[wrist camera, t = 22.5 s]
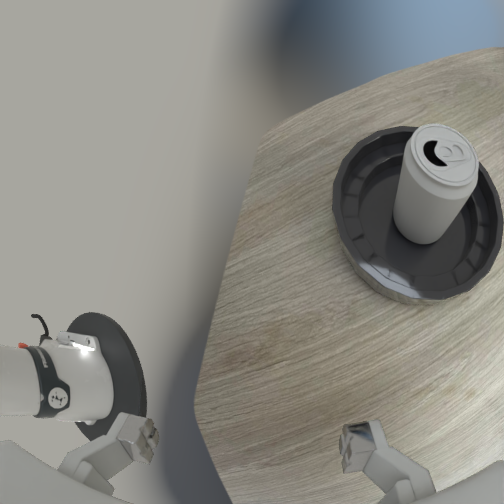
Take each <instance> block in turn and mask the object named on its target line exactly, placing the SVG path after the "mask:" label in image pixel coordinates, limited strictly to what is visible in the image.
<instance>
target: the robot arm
mask: <svg viewBox="0 0 504 504" xmlns="http://www.w3.org/2000/svg"><path fill="white" fill-rule="evenodd" d="M31 316H32V317H33V318H38V319H39V320H40V321H41V323H42V325H43V327H44V330H45V334H43V335H41V338H40V345H39V346H29V347H28V345H26V344H24V343H19V348H16V347H9V346H4V345H0V416H19V415H20V416H21V415H22V416H25V415H33V416H34V417H36V418H52V417H55V418H56V419H57V420H58V421H65V422H68V421H69V422H77V421H78V422H79V421H84V422H85V423H86V424H87V425H93V424H94V423H95V422H96V421H97V420H99V419H103V418H105V417H107V416H108V415H109V413H110V411H111V409H112V406H113V399H114V389H113V382H112V377H111V373H110V370H109V368H108V365H107V363H106V361H105V359H104V357H103V355H102V353H101V349H100V344H99V341H98V338H97V337H96V336H90V335H84V334H78V333H72V332H66V331H60V332H59V334H58V336H57V339H56V340H53V339H52V338H51V337H48V335H49V332H48V328H47V326H46V324H45V322H44V320H43V319H42V317H41V316H40V315H38V314H32V315H31ZM153 425H154V423H153V421H152V419H149V418H144V417H140V416H135V415H132V414H128V413H123V412H121V413H119V414H118V416H117V418H116V419H115V421H114V423H113V424H112V426H111V428H110V430H109V431H108V433H107V435H102V436H100V437H98V438H97V439H95V440H93V441H91V442H89V443H87V444H85V445H83V446H81V447H79V448H77V449H75V450H73V451H70V452H68V454H67V455H66V457H65V458H64V460H63V461H62V463H61V465H60V466H59V468H58V470H56V469H54V468H52V467H51V466H49V465H47V464H46V463H44V462H42V461H41V460H39V459H38V458H36V457H35V456H33V455H32V454H30V453H28V452H27V451H26V450H24V449H23V448H21V447H20V446H19V445H17V444H16V443H14V442H12V441H11V440H5V441H1V442H0V504H132V503H129V502H126V501H123V500H121V499H118V498H115V497H113V496H112V494H113V492H114V487H113V486H112V485H111V484H110V483H109V482H108V481H107V480H109V479H110V478H112V477H113V476H114V475H116V474H117V473H118V472H120V471H121V470H122V469H124V468H125V467H127V466H128V465H129V464H131V463H132V462H133V461H137V462H141V463H145V464H150V462H151V460H152V457H153V455H154V454H153V451H152V450H153V449H154V448H156V447H157V445H158V442H159V441H158V440H159V434H158V431H157V429H156V428H154V427H153ZM342 431H343V434H341V435H340V439H339V450H340V454H341V455H342V456H343V459H342V468H343V474H344V473H351V472H358V471H362V472H363V473H364V474H365V475H367V476H368V477H369V478H370V479H371V480H372V481H373V482H374V483H375V484H376V485H377V486H378V487H379V488H380V489H381V490H382V491H383V492H385V493H386V495H385V496H384V497H383V498H382V499H381V500H380V501H379V502H378V504H504V461H503V460H498V461H496V462H494V463H492V464H491V465H489V466H487V467H486V468H484V469H482V470H481V471H479V472H477V473H475V474H474V475H472V476H470V477H468V478H466V479H464V480H462V481H460V482H458V483H456V484H454V485H452V486H450V487H448V488H446V489H443V490H441V491H439V492H437V493H436V490H435V487H434V484H433V481H432V478H431V476H430V473H429V470H427V469H425V468H424V467H422V466H421V465H419V464H418V463H416V462H415V461H413V460H412V459H410V458H409V457H407V456H406V455H404V454H403V453H401V452H400V451H398V450H397V449H395V448H394V447H393V446H392V447H389V445H388V442H387V439H386V436H385V433H384V430H383V427H382V425H381V422H380V420H379V419H375V420H371V421H363V422H358V423H352V424H345V425H344V426H343V429H342Z"/></svg>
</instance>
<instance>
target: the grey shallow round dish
mask: <svg viewBox="0 0 504 504" xmlns="http://www.w3.org/2000/svg"><path fill="white" fill-rule="evenodd" d="M418 128H419V127H408V126H399V127H394V128H389V129H385V130H380V131H377V132H375V133H373V134H372V135H370V136H368V137H366V138H365V139H363V140H361V141H359V142H358V143H357V144H356V145H355V146H354V147H353V149H352V150H351V151H350V152H349V153H348V154H347V155H346V156H345V158H344V159H343V160H342V163H341V165H340V168H339V170H338V173H337V175H336V178H335V180H334V183H333V203H332V211H333V215H334V219H335V224H336V228H337V231H338V235H339V239H340V243H341V247H342V250H343V253H344V254H345V256H346V257H347V259H348V260H349V262H350V264H351V265H352V267H353V268H354V270H355V272H356V273H357V275H358V276H359V277H361V278H362V279H363V280H364V281H365V282H366V283H368V284H369V285H370V286H371V287H372V288H373V289H374V290H376V291H377V292H378V293H379V294H382V295H384V296H386V297H389V298H391V299H394V300H396V301H398V302H401V303H403V304H413V305H433V304H436V303H439V302H442V301H445V300H448V299H451V298H454V297H456V296H458V295H461V294H463V293H465V292H467V291H469V290H471V289H472V288H473V287H474V286H475V285H476V284H477V283H478V282H479V281H480V280H482V279H483V278H484V277H485V276H486V275H487V274H488V273H489V271H490V269H491V267H492V265H493V263H494V261H495V259H496V257H497V255H498V253H499V251H500V248H501V242H502V234H503V224H504V221H503V214H502V209H501V204H500V199H499V195H498V192H497V190H496V188H495V186H494V184H493V182H492V180H491V178H490V176H489V174H488V172H487V171H486V169H485V168H484V167H483V166H482V164H481V163H480V162H479V169H478V180H477V184H476V187H475V189H474V190H473V192H472V193H471V195H470V196H469V198H468V200H467V201H466V203H465V204H464V206H463V207H462V209H461V210H460V211H459V213H458V214H457V216H456V217H455V219H454V220H453V221H452V223H451V224H450V226H449V227H448V228H447V230H446V231H445V232H444V234H443V235H442V236H441V237H440V238H439V239H438V240H437V241H435V242H433V243H430V244H418V243H415V242H412V241H410V240H408V239H407V238H406V237H404V236H403V235H402V234H401V232H400V231H399V230H398V228H397V226H396V224H395V221H394V217H393V208H394V204H395V199H396V194H397V190H398V185H399V180H400V174H401V169H402V163H403V157H404V151H405V147H406V144H407V142H408V140H409V139H410V138H411V137H412V135H413V133H414V132H415V131H416V130H417V129H418Z"/></svg>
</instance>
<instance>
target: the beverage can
mask: <svg viewBox="0 0 504 504" xmlns="http://www.w3.org/2000/svg"><path fill="white" fill-rule="evenodd" d="M478 169H479V161H478V156H477V154H476V151H475V149H474V147H473V146H472V144H471V143H470V142H469V140H468V139H467V138H466V137H465V136H463V135H462V134H461V133H460V132H458V131H457V130H455V129H453V128H451V127H449V126H446V125H442V124H435V123H432V124H426V125H423V126H421V127H419V128H418V129H417V130H416V131H415V132H414V133H413V135H412V137H411V138H410V139H409V140H408V142H407V144H406V147H405V151H404V157H403V163H402V169H401V174H400V180H399V185H398V190H397V194H396V199H395V204H394V208H393V217H394V221H395V224H396V226H397V228H398V230H399V231H400V232H401V234H402V235H403V236H404V237H406V238H407V239H408V240H410V241H412V242H415V243H418V244H430V243H433V242H435V241H437V240H438V239H439V238H440V237H441V236H442V235H443V234H444V232H445V231H446V230H447V228H448V227H449V226H450V224H451V223H452V221H453V220H454V219H455V217H456V216H457V214H458V213H459V211H460V210H461V209H462V207H463V206H464V204H465V203H466V201H467V200H468V198H469V196H470V195H471V193H472V192H473V190H474V189H475V187H476V184H477V180H478Z"/></svg>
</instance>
